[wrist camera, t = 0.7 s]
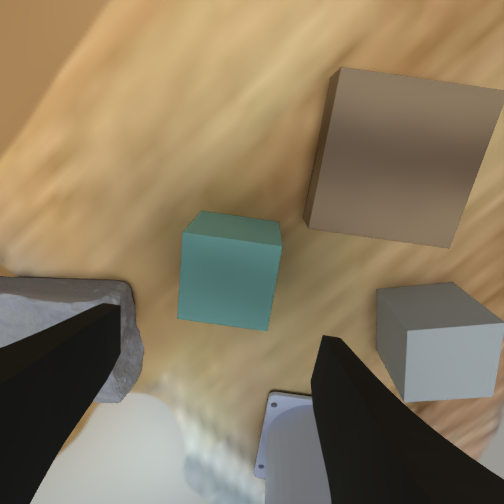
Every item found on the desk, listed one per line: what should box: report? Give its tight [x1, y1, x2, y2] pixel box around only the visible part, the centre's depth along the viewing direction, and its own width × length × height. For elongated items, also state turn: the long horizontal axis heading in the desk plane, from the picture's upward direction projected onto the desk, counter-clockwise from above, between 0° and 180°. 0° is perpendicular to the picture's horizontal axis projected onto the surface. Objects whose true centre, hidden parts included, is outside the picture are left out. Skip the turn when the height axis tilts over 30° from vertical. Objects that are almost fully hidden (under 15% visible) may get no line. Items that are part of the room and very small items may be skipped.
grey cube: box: [376, 282, 504, 402], centre depth 20 cm, size 5×5×5 cm
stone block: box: [0, 276, 144, 403], centre depth 23 cm, size 12×5×10 cm
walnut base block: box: [303, 67, 504, 249], centre depth 18 cm, size 8×8×3 cm
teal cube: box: [177, 211, 282, 331], centre depth 19 cm, size 5×5×5 cm
